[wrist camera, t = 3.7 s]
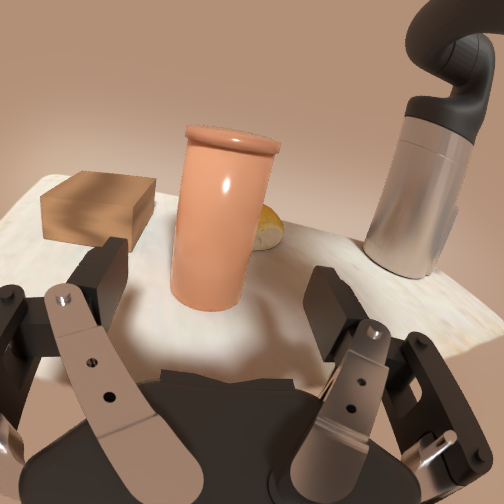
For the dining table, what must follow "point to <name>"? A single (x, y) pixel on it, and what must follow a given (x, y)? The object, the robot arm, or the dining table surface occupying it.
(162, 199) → the dining table surface
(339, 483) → the robot arm
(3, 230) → the dining table surface
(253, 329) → the dining table surface
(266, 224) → the bread roll
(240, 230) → the jar
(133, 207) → the plinth
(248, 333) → the dining table surface
